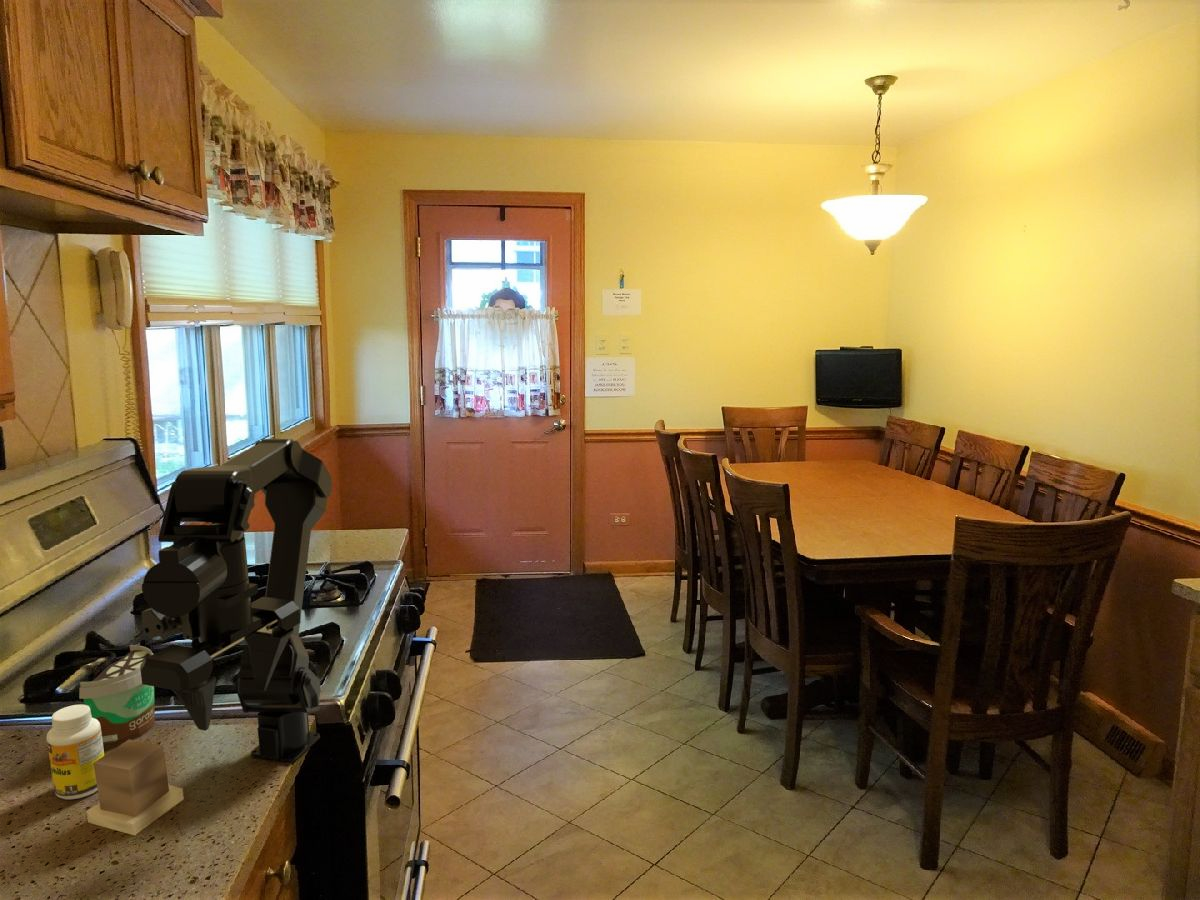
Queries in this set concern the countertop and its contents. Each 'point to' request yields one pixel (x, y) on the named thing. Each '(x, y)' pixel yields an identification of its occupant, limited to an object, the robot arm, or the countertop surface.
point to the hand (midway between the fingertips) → (233, 709)
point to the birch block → (139, 822)
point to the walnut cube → (131, 777)
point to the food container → (121, 699)
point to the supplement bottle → (74, 751)
